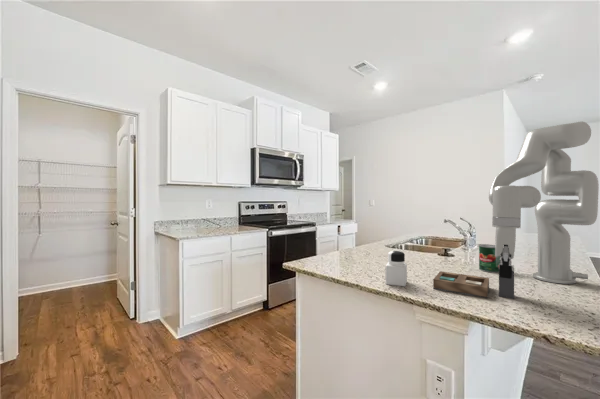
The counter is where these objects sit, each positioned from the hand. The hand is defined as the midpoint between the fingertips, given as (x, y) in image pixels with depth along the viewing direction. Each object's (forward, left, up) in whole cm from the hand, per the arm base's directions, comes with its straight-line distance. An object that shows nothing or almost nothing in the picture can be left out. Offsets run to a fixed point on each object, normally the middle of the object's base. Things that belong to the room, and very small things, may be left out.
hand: (505, 274), depth 92 cm
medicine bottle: (+34, +6, -7) cm, 35 cm away
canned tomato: (+6, -36, -7) cm, 37 cm away
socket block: (+13, -1, -7) cm, 15 cm away
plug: (0, -1, -7) cm, 7 cm away
